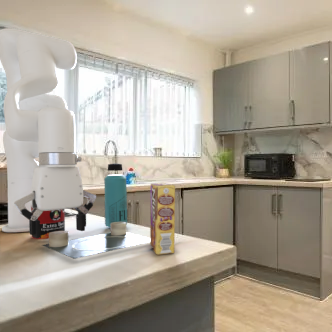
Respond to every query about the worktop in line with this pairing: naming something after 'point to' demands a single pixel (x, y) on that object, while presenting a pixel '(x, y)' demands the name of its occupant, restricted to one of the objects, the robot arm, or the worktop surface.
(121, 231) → the puck eye
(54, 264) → the worktop surface
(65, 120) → the robot arm
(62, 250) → the chalkboard
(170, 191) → the candy box
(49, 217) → the canned food
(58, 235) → the puck eye
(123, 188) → the beverage bottle
